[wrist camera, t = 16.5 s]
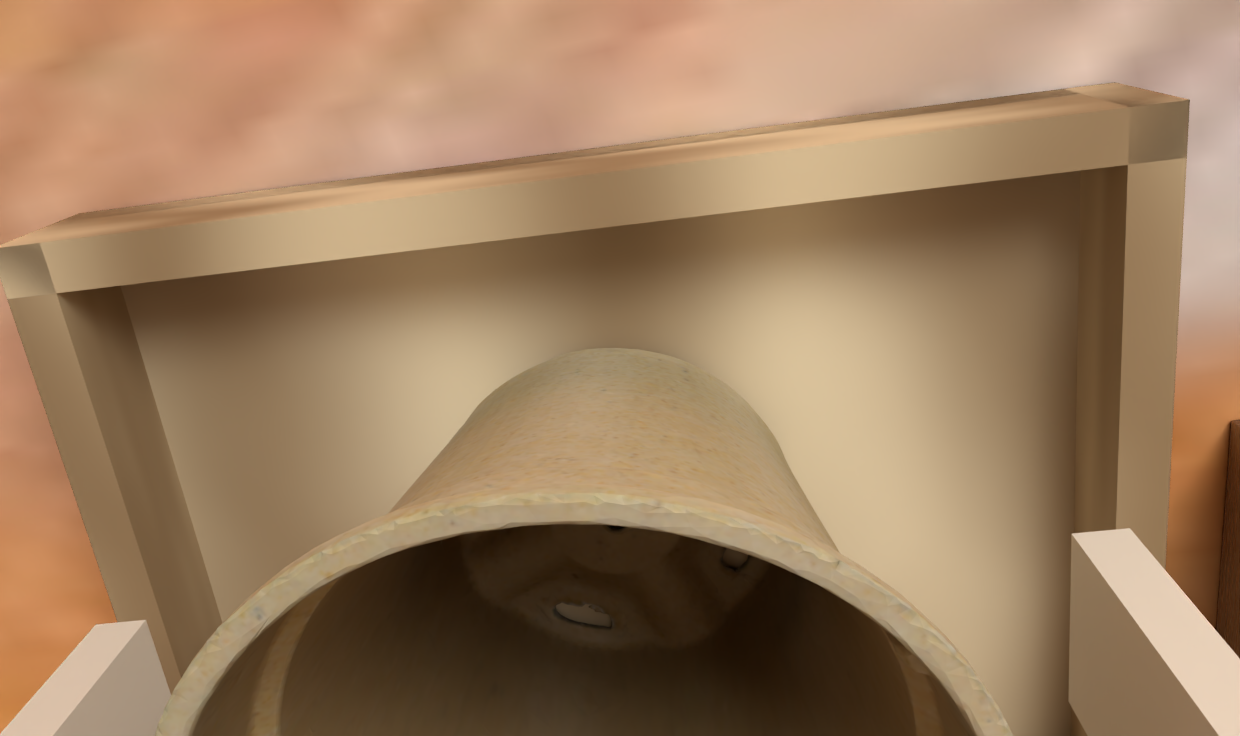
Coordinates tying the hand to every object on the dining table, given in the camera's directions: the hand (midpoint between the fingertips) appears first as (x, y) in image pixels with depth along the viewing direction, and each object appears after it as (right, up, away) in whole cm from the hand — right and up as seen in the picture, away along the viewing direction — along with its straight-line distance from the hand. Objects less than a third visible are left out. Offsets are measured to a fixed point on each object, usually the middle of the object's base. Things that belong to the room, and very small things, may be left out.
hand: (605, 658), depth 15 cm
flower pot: (0, +2, +4) cm, 5 cm away
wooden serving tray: (+1, -4, +7) cm, 8 cm away
